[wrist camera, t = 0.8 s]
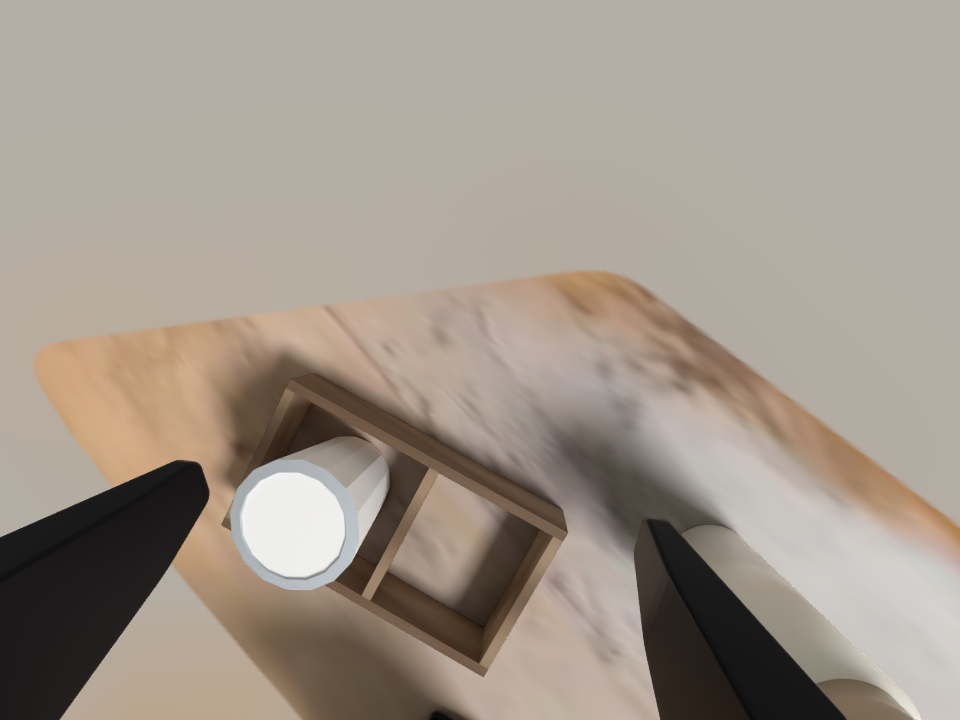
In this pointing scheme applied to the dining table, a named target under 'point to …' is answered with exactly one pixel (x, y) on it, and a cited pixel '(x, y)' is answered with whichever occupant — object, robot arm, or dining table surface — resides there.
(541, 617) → the dining table surface
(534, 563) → the walnut caddy
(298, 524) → the white cup
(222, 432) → the dining table surface
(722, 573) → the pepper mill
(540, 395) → the dining table surface
